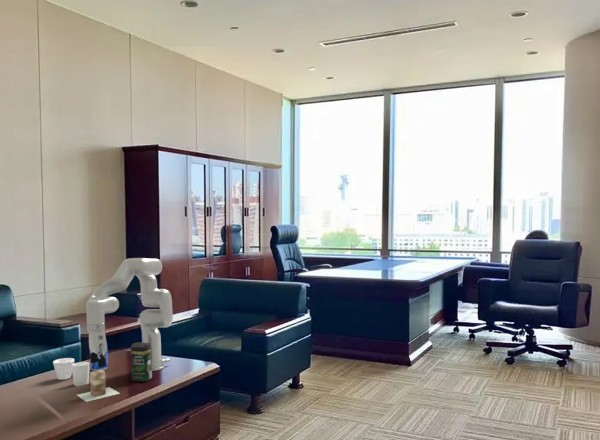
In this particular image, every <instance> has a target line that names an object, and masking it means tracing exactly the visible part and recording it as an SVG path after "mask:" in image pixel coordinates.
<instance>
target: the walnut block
mask: <svg viewBox="0 0 600 440" xmlns="http://www.w3.org/2000/svg"><path fill="white" fill-rule="evenodd" d="M89 385H90V387H89V389H90V392H91V395H93V396H94V397H96V396H100V395H104V394H106V388H107V387H106V382H105V383H103V384H99V385H93V384H91V383H90V382H89Z"/></svg>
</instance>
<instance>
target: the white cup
mask: <svg viewBox="0 0 600 440" xmlns="http://www.w3.org/2000/svg"><path fill="white" fill-rule="evenodd" d="M72 379H73V386H75V387H80V386H84V385H89V384H90V362H89V361H79V362H74V363H73V364H72Z"/></svg>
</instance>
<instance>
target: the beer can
mask: <svg viewBox="0 0 600 440" xmlns="http://www.w3.org/2000/svg"><path fill="white" fill-rule="evenodd" d="M106 344H107V345H108V343H107V341H106ZM99 352H100V351H99ZM105 354H106V355H105V356H106V366H105V367H101V368H99V367H98V362H96V363H91V362H90V366H91V367H90V368H91V371H92V372H93V371H97V370H103V371H106V370H107V369H108V367H109V361H108V360H109V359H108V351H107V352H105ZM100 355H101V354H100ZM98 359H99V358H98Z"/></svg>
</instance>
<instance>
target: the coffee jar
mask: <svg viewBox="0 0 600 440" xmlns="http://www.w3.org/2000/svg"><path fill="white" fill-rule="evenodd" d="M150 353H151V344H150V343H142V341H141V342H134V343H132V344H131V345H130V354H131V381H133V382H141V383H143V382H148V381H150V380H152V378H153V371H152V370H151V361H150Z"/></svg>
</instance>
